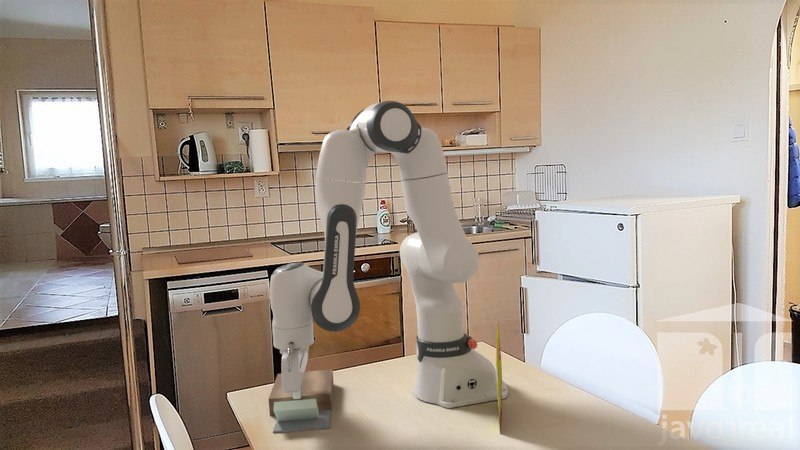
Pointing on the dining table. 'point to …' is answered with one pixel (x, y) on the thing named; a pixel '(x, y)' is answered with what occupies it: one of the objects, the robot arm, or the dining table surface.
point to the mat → (305, 423)
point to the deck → (307, 390)
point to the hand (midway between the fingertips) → (297, 396)
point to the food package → (499, 374)
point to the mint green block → (296, 410)
